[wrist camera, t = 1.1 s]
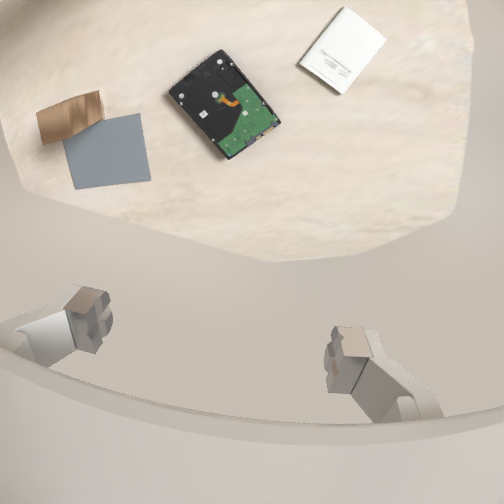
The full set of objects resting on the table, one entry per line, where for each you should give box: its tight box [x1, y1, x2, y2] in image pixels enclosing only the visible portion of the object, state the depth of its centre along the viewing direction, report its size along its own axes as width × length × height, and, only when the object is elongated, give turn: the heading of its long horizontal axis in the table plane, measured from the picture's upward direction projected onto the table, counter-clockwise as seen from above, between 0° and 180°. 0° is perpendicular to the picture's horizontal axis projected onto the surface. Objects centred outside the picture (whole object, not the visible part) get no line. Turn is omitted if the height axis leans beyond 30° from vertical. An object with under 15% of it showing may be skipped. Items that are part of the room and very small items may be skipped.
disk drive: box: [169, 50, 281, 160], centre depth 43 cm, size 10×3×15 cm
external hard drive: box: [299, 7, 387, 94], centre depth 37 cm, size 2×8×12 cm
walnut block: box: [36, 90, 105, 145], centre depth 38 cm, size 5×5×12 cm
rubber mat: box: [63, 114, 151, 189], centre depth 48 cm, size 12×16×1 cm
